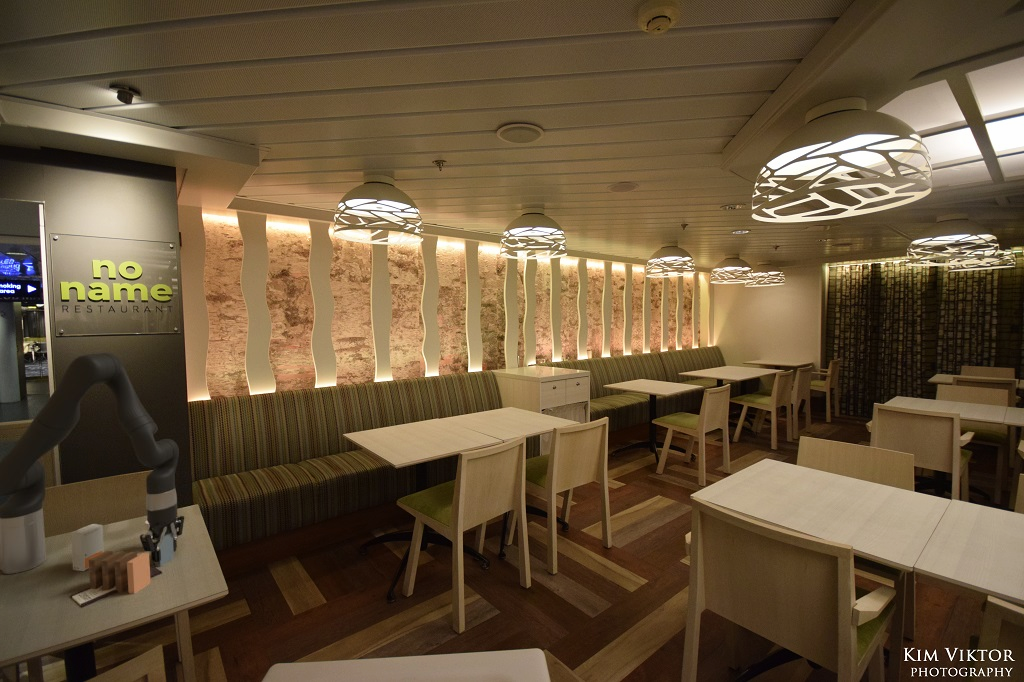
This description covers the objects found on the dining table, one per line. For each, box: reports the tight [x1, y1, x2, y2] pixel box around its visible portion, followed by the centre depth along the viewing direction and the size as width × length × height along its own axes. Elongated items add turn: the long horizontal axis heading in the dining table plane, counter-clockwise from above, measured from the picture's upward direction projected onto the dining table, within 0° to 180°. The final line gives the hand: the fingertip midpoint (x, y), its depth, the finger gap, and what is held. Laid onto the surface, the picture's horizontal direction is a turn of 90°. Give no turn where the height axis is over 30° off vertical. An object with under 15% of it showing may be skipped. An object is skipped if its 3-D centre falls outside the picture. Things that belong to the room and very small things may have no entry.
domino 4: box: [154, 533, 175, 568], centre depth 141 cm, size 2×5×9 cm, turn 174°
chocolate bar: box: [69, 564, 163, 608], centre depth 129 cm, size 9×1×18 cm
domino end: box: [127, 552, 152, 595], centre depth 127 cm, size 2×5×9 cm, turn 175°
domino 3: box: [114, 551, 138, 593], centre depth 128 cm, size 2×5×9 cm, turn 174°
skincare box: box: [70, 523, 105, 572], centre depth 139 cm, size 6×4×12 cm
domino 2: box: [102, 550, 125, 590], centre depth 128 cm, size 2×5×9 cm, turn 175°
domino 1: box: [88, 550, 113, 589], centre depth 129 cm, size 2×5×9 cm, turn 174°
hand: (164, 556), depth 141 cm, fingers closed on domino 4, 5 cm apart
